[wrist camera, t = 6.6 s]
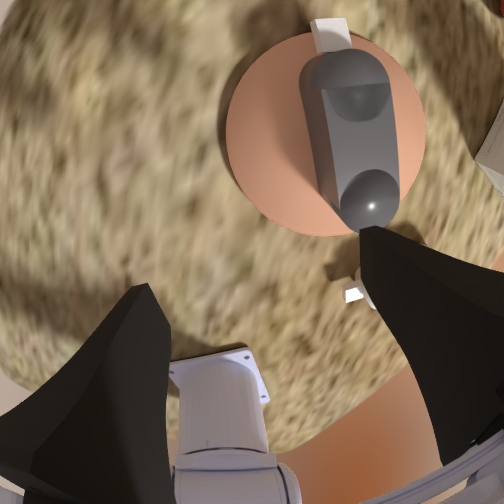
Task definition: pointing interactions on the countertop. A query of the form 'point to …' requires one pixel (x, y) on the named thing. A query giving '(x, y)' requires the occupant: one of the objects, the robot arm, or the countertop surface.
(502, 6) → the onion
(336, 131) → the charcoal plug
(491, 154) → the supplement box
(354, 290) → the white plug
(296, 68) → the coaster
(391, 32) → the countertop surface
